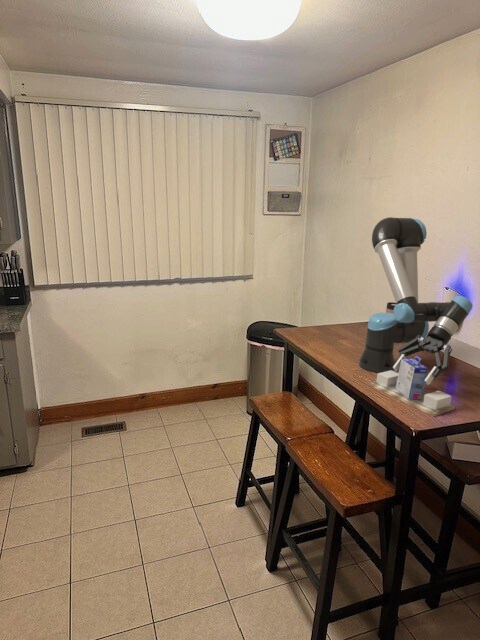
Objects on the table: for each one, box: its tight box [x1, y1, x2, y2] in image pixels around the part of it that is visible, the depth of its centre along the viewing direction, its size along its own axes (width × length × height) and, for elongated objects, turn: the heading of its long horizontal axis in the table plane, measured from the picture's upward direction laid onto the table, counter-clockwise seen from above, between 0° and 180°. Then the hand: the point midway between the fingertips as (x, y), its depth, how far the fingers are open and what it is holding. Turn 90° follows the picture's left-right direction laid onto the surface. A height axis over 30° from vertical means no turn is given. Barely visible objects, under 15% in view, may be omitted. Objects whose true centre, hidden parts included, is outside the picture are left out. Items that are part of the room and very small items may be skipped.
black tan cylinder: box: [385, 301, 397, 314], centre depth 225 cm, size 8×8×20 cm
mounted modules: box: [375, 370, 452, 410], centre depth 162 cm, size 26×8×4 cm, turn 32°
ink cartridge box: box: [396, 355, 429, 399], centre depth 159 cm, size 10×6×14 cm, turn 9°
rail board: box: [369, 379, 456, 417], centre depth 163 cm, size 28×12×2 cm, turn 32°
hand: (410, 376), depth 159 cm, fingers open, 13 cm apart
